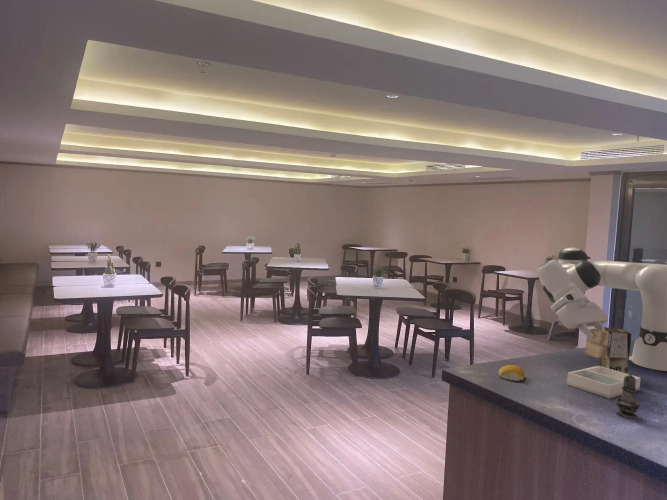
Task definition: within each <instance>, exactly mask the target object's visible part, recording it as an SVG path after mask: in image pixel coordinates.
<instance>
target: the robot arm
mask: <svg viewBox="0 0 667 500" xmlns="http://www.w3.org/2000/svg"><path fill="white" fill-rule="evenodd" d="M557 259H558V260H557ZM557 259H549V260H547V261H545V262H544V263H542V264H541V265H539V266H538V267H537V269H536V273H537V276H539V277H538V278H539V281H540V284H541V285H542V291H544V293H545V294H546V296H547V297H548V299H549V300H550V302H551V303H553V304H552V305H551V306H550V309H551V311H552V312H554V313H555V315H556V316H557V318H558V320H559V321H560V322H561V324H562V325H563V326H564V327H565V328H566V329H568V330H573V329H579V331H580V332H581V333H583V334H584V335H586V338H587V337H588V338H589V339H593V338H594V337H595V334H594V333H593V331H592V332H591V331H590V330H589V328H588V327H593V328H594V329H600V330H604V328H603V327H604V324H606V322H608V321H609V317H608V315H607V314H606V312H605V311H604V310H603V309H602V308H601V306H599V305H598V304H597V303H596V302H594V301H590V300H589V299H588V297H587V295H586V292H587V291H589V290H591V289H594V288H595V287H598V286H600V287H603V288H608V289H609V288H610V289H616V290H617V289H619V290H626V291H638V292H640V297H641V303H642V312H641V313H642V315H641V325H640V327H639V330H638V336H639V337H637V339H635V340H634V343H633V349H632V354H631V355H629V361H631V362H632V363H633V364H635V365H637V366H639V367H643V368H646V369H649V370H656V371H662V372H667V264H660V263H648V262H647V263H644V262H643V263H642V262H631V261H630V262H628V261H618V260H617V261H614V260H596V261H589V260H590V259H592V258H591V256H588V254H587V252H585V251H584V250H583V249H579V248H577V247H566V248H564V249H563V248H562V249H561V250H560V251H559V252H558V256H557Z"/></svg>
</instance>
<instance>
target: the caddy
mask: <svg viewBox="0 0 667 500" xmlns="http://www.w3.org/2000/svg"><path fill="white" fill-rule="evenodd" d="M629 374H630V373H628V374H626V373H622V372H619V371H615V370H612V369H608V368H605V367H601V366H600V365H596V366H592V367H586V368H582V369H578V370H573V371H569V372H567V377H566V379H567V380H566V386H571V387H573V388H575V389H579V390H582V391H585V392H588V393H591V394H593V395H595V396H596V395H598V396H600V397H602V398H606V399H609V400H610V399H613V398H617V397H621V396H622V391H623V389H622V387H623V384H624V377H625V376H628V375H629ZM631 376H633V377H634V378H635V379H636V384H635V389H636V390H637V391H640V389H641V377H639V376H635V375H634V374H632V375H631Z"/></svg>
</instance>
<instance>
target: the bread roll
mask: <svg viewBox="0 0 667 500" xmlns="http://www.w3.org/2000/svg"><path fill="white" fill-rule="evenodd" d="M498 376H499V377H500V378H502V379H504V380H507V379H508V381H512V380H514V381H513V382H520V380H521V381H523V380H524V379H525V376H526V374H525V371H524V370H523V368H521V367H520V366H517V365H515V364H507V365H504V366H501V367H500V368H499V370H498Z"/></svg>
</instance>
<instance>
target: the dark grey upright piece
mask: <svg viewBox="0 0 667 500" xmlns="http://www.w3.org/2000/svg"><path fill="white" fill-rule="evenodd" d="M628 374H629V375H628V376H625V377H624V384H623V387H622V389H623V391H622V395H620V398H619V397H618V398H616V399H615V403H616V406H617V408H618V410H616V411H615V414H616V415H617V416H619V417H622V418H626V419H630V420H631V419H634V420H635V419H638V415H637V414H636V412H637V411H638V410H639V407H640V406H641V404H640V403H639V402H637V401H636V392H637V391H638V390H636V389H635V384H636V379H635V378H634V377H633V376H634V375H633V374H632V372H629V373H628ZM631 375H633V376H631Z"/></svg>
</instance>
